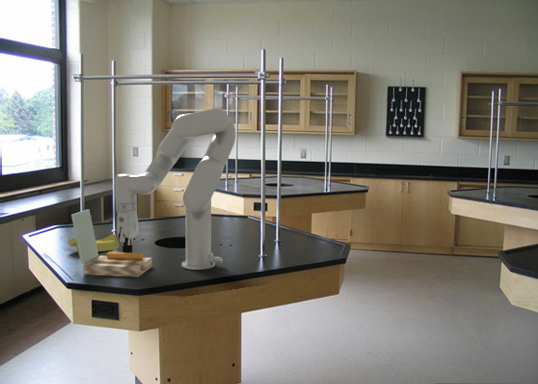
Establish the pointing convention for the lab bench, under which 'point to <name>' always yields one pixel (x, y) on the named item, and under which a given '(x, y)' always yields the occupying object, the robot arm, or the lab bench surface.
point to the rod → (125, 255)
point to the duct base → (117, 267)
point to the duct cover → (85, 235)
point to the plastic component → (101, 243)
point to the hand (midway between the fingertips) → (127, 255)
